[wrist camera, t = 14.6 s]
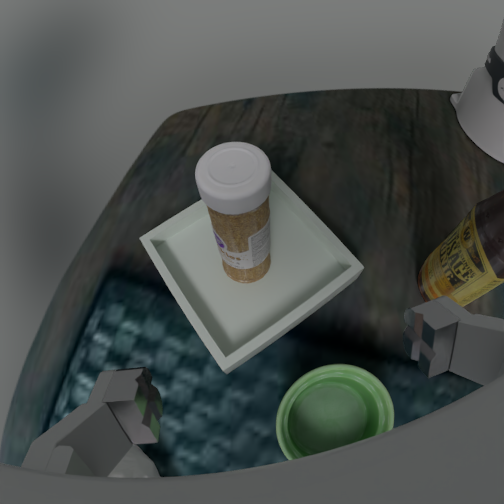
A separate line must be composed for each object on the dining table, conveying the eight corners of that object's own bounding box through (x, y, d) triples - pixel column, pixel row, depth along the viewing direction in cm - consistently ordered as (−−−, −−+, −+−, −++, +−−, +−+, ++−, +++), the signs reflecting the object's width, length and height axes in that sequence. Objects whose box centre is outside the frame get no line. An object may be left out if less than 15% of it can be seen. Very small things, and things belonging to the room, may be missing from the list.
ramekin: (375, 366, 26) (391, 358, 22) (377, 461, 22) (394, 469, 18) (275, 371, 27) (276, 365, 23) (274, 470, 23) (275, 481, 19)
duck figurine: (105, 422, 27) (8, 451, 17) (130, 392, 24) (9, 424, 14) (173, 520, 22) (82, 569, 13) (214, 508, 19) (105, 578, 10)
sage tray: (264, 178, 36) (264, 163, 34) (357, 277, 30) (364, 267, 28) (147, 249, 33) (139, 238, 30) (227, 374, 27) (223, 371, 25)
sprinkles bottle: (213, 265, 31) (177, 170, 19) (245, 232, 32) (231, 129, 20) (249, 295, 29) (233, 210, 17) (281, 259, 30) (287, 161, 18)
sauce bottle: (412, 255, 31) (512, 109, 13) (461, 262, 30) (570, 137, 12) (414, 316, 28) (552, 195, 10) (466, 320, 27) (606, 218, 9)
